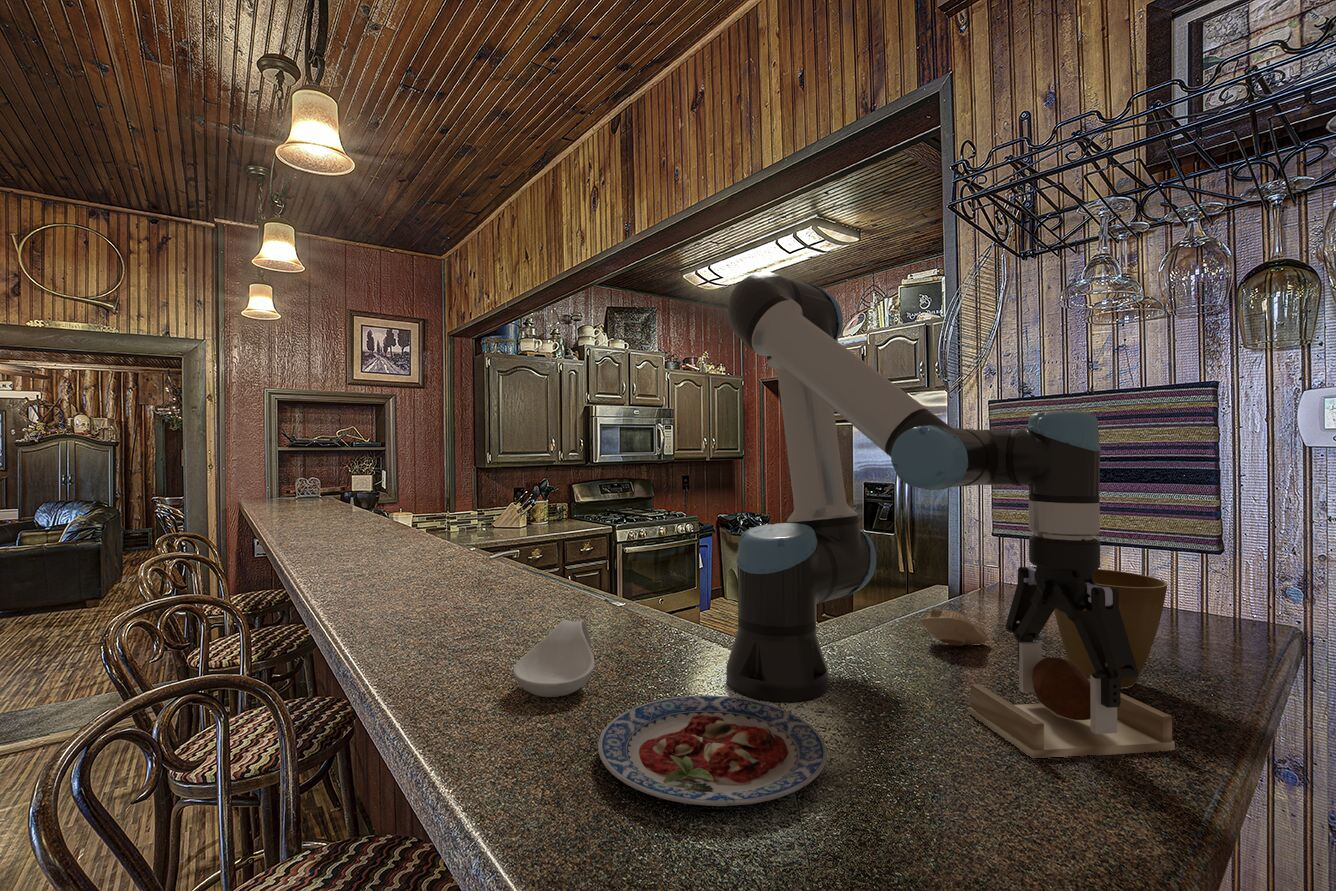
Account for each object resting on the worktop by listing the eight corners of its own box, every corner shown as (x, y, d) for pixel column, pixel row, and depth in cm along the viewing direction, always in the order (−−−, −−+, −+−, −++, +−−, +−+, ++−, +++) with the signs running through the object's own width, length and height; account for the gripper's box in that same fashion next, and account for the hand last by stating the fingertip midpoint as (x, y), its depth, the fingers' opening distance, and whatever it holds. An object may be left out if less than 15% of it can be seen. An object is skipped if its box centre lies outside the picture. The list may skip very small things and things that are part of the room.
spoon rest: (587, 708, 85) (587, 656, 85) (502, 707, 85) (502, 655, 85) (610, 652, 108) (610, 611, 108) (543, 651, 109) (543, 610, 109)
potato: (1070, 733, 72) (1070, 677, 72) (1012, 694, 83) (1012, 646, 83) (1122, 733, 72) (1122, 677, 72) (1057, 693, 83) (1057, 645, 83)
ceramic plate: (689, 696, 89) (689, 675, 89) (863, 750, 73) (863, 725, 73) (549, 766, 69) (549, 739, 69) (747, 863, 53) (747, 828, 53)
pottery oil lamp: (1005, 652, 108) (1005, 611, 108) (945, 658, 105) (945, 616, 105) (970, 637, 116) (969, 600, 116) (913, 642, 113) (913, 603, 113)
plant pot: (1114, 705, 85) (1114, 589, 85) (1025, 668, 100) (1025, 569, 100) (1194, 694, 89) (1193, 582, 89) (1098, 660, 103) (1097, 564, 104)
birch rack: (1031, 759, 70) (1031, 724, 70) (968, 714, 82) (968, 684, 82) (1174, 750, 72) (1174, 716, 72) (1092, 708, 84) (1092, 678, 84)
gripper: (1179, 550, 66) (1180, 755, 66) (1025, 523, 90) (1026, 674, 90) (1115, 551, 65) (1116, 759, 65) (977, 524, 89) (977, 676, 89)
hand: (1064, 710), depth 77 cm, fingers closed on potato, 11 cm apart
